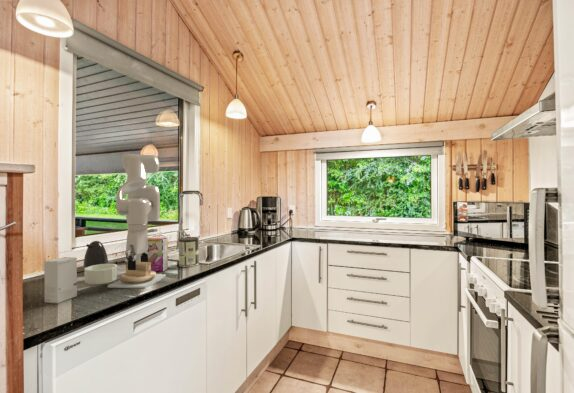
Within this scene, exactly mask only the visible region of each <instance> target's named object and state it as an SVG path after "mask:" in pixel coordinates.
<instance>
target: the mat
mask: <svg viewBox="0 0 574 393" xmlns="http://www.w3.org/2000/svg"><path fill="white" fill-rule="evenodd" d="M165 277H167V274H164V273H160V274H158V273H156V276H155V277H154V278H152V279H150V280H148V281H144V282H139V283H128V282H123V281H121V280H120V279H117V281H116V280H115V281H113V282H111V283H110V284H108V285H107V288H112V289H143V290H144V289H147V288H148V287H150V286H152V285H154V284H155V283H157V282H159V281H160V280H162V279H163V278H165Z"/></svg>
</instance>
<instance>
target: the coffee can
mask: <svg viewBox="0 0 574 393" xmlns="http://www.w3.org/2000/svg"><path fill="white" fill-rule="evenodd" d="M199 255H200V254H199V237H198V236H197V237H196V236H187V237H186V236H185V237H180V238H178V266H179V267H182V268H190V267H191V268H192V267H196V266H198V265H200V264H199V262H200V261H199Z"/></svg>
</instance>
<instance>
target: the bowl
mask: <svg viewBox="0 0 574 393" xmlns="http://www.w3.org/2000/svg"><path fill="white" fill-rule="evenodd" d="M116 280H117V281H118V264H116V263H108V264H98V265H93V266H89V267H86V268H84V284H85V285H91V286H98V285H104V284H109V283H110V284H111V283H114V282H116Z"/></svg>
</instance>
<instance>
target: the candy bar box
mask: <svg viewBox="0 0 574 393" xmlns="http://www.w3.org/2000/svg"><path fill="white" fill-rule="evenodd" d="M148 244H150V247H149V252H148V253H149V255H147V256H148V262H151V271H155V272H156V273H157V272H159V273H160V272H161V273H163V272H165V271H167V270H168V269H169V268H168V267H169V265H168V237H165V236H164V237H163V236H148Z"/></svg>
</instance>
